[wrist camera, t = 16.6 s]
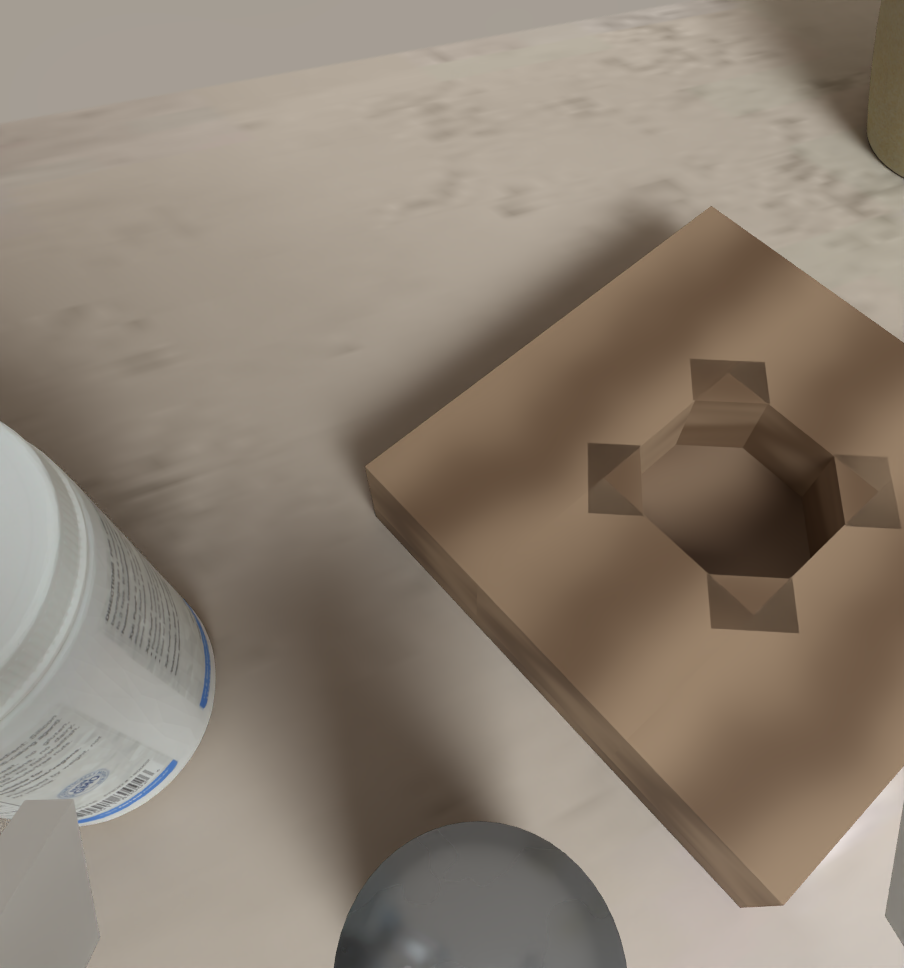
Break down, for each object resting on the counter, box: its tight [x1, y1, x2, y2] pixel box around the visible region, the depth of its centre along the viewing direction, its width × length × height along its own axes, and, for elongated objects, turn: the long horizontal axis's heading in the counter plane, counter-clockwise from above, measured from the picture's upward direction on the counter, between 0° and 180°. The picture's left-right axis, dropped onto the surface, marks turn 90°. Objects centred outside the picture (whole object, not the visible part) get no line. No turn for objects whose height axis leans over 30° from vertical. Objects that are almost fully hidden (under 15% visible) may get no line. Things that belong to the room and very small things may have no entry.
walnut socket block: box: [365, 206, 904, 908], centre depth 34 cm, size 20×20×4 cm
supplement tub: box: [0, 421, 216, 826], centre depth 26 cm, size 10×10×15 cm
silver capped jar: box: [334, 821, 627, 968], centre depth 23 cm, size 6×6×13 cm
